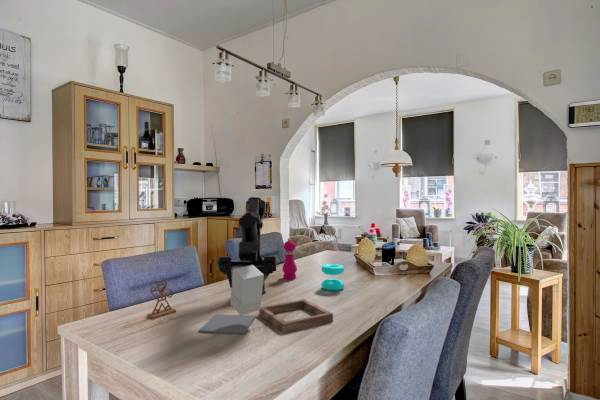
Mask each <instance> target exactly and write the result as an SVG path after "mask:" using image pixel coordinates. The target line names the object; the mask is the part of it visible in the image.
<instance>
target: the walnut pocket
mask: <svg viewBox="0 0 600 400" xmlns="http://www.w3.org/2000/svg"><path fill="white" fill-rule="evenodd" d="M298 309H299V310H300V309H304V310H306V311H308V312H310V313H311V314H313V315H311V316H306V317H301V318H298V319H292V320H287V321H285V320H284V319H282V318H281V317H279V316H278V315H276V314H279V313H284V312H289V311H293V310H298ZM258 315H259V316H260V317H261V318H263V319H265V320H266V321H267V322H269V323H270V324H271V325H273V326H274V327H275V328H276V329H278V330H279V331H280V332H281V333H283V334H284V333H288V332H293V331H297V330H301V329H305V328H308V327H309V328H310V327H315V326H318V325H323V324H327V323H332V322H334V314H333V312H330V311H328V310H327V309H324V308H323V307H320V306H318V305H316V304H315V303H313V302H311V301H308V300H306V299H304V298H303V299H298V300H294V301H293V300H292V301H287V302H282V303H277V304H271V305H265V306H261V309H260V310H258Z"/></svg>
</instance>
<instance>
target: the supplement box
mask: <svg viewBox="0 0 600 400" xmlns="http://www.w3.org/2000/svg"><path fill="white" fill-rule="evenodd" d="M263 279H264V274H263V273H261V272H260V271H259V270H258V269H257V268H256V267H255V266H254V265H249V266H244V267H235V268H232V288H231V291H230V292H231V293H230V305H231V306H232V307H233V309H234V310H235V311H236V312H237V313H238V315H240V316H241V315H248V314H251V313H254V312H259V310H260V309H261V307H262V296H263V294H262V289H263Z"/></svg>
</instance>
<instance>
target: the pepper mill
mask: <svg viewBox="0 0 600 400" xmlns="http://www.w3.org/2000/svg"><path fill="white" fill-rule="evenodd" d="M296 247H297V246H296V242H294V241H293V240H292V238H291V237H288V238H287V241H285V242H283V249H284V251H283V252H284V255H285V259H284V262H283V265H282V268H281V269H282V273H283V277H282V278H283V279H284V280H295V279H296V278H297V275H296V272H297V271H298V267H297V264H296V261H295V258H294V255H295V249H296Z"/></svg>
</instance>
